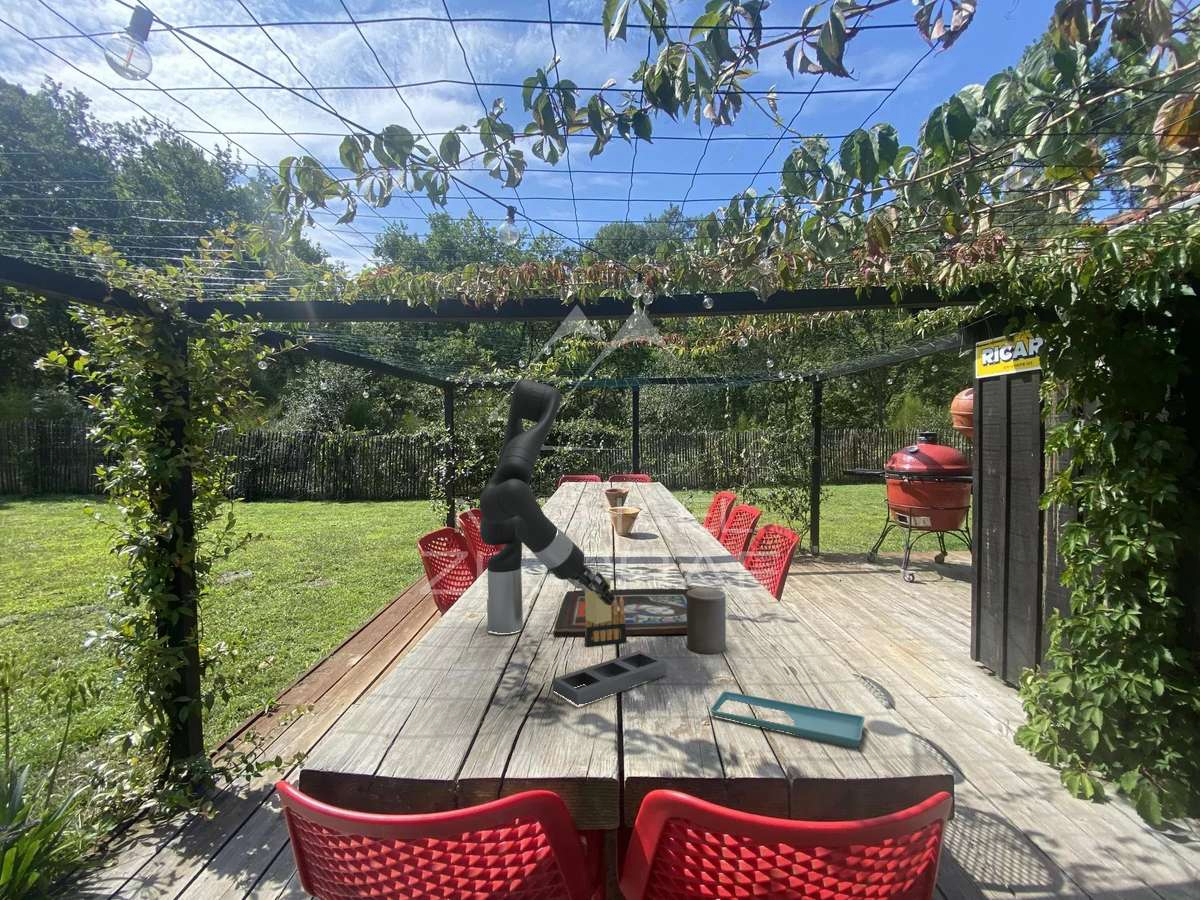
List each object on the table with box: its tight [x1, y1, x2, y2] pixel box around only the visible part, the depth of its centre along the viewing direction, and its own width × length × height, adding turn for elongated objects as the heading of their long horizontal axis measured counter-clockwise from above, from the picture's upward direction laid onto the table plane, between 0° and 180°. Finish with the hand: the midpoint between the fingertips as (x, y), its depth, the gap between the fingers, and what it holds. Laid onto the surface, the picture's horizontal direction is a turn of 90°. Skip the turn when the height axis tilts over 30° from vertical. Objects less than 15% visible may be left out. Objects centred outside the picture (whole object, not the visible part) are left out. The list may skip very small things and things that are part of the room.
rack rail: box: [552, 650, 667, 705], centre depth 126 cm, size 24×9×3 cm, turn 127°
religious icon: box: [553, 587, 697, 638], centre depth 174 cm, size 40×45×3 cm
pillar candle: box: [686, 587, 727, 655], centre depth 146 cm, size 10×10×15 cm
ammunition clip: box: [584, 596, 628, 648], centre depth 150 cm, size 11×2×12 cm, turn 103°
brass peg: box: [585, 576, 612, 624], centre depth 128 cm, size 4×4×9 cm
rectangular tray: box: [709, 690, 866, 749], centre depth 108 cm, size 26×9×2 cm, turn 61°
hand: (605, 599), depth 129 cm, fingers closed on brass peg, 4 cm apart
